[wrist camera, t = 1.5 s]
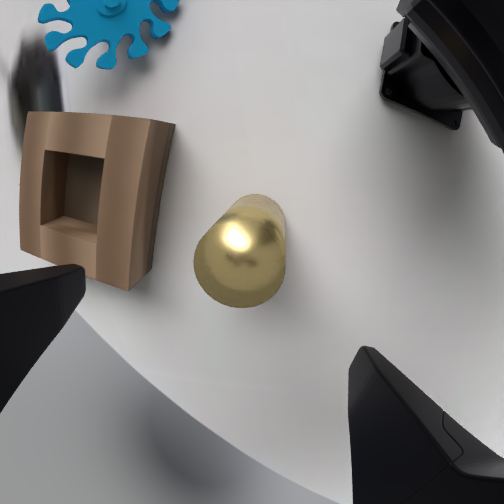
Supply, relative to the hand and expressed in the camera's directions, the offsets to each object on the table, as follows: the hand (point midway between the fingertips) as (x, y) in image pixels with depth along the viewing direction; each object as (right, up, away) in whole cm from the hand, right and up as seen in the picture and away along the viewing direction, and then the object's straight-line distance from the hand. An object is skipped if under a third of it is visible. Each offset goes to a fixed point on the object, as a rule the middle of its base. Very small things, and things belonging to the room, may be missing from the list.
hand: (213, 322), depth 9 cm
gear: (-8, +20, +8) cm, 23 cm away
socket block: (-11, +7, +12) cm, 18 cm away
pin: (+1, +4, +12) cm, 13 cm away
